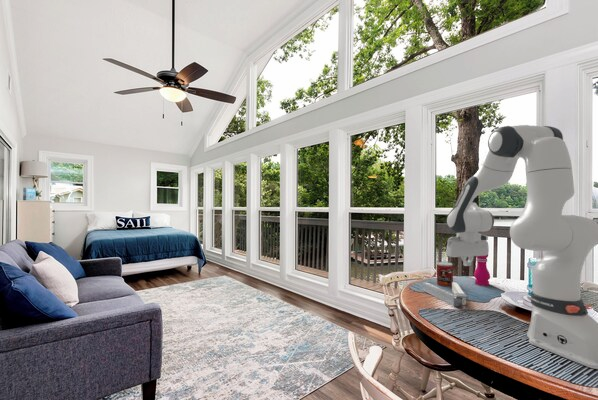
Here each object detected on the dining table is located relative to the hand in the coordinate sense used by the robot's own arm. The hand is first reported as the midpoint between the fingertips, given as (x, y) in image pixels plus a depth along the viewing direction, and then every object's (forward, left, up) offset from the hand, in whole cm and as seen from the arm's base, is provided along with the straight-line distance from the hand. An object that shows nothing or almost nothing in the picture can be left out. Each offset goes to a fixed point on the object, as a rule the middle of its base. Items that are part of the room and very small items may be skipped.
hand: (467, 265), depth 134 cm
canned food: (+17, -1, -14) cm, 22 cm away
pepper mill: (+13, -20, -14) cm, 27 cm away
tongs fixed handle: (-3, +16, -13) cm, 21 cm away
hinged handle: (-5, +10, -13) cm, 17 cm away
